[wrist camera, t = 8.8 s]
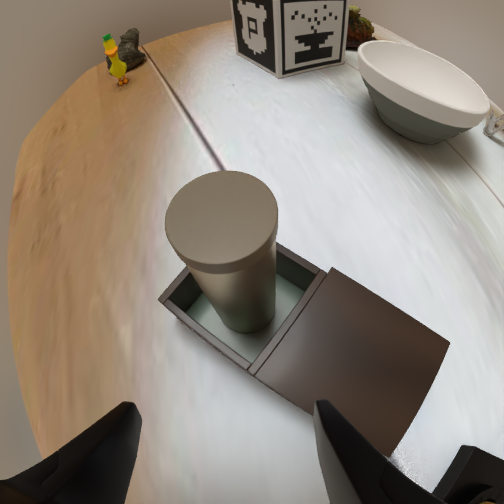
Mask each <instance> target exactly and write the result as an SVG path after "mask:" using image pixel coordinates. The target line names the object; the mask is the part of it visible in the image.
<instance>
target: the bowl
mask: <svg viewBox="0 0 504 504" xmlns="http://www.w3.org/2000/svg"><path fill="white" fill-rule="evenodd" d="M358 67H359V71H360V73H361V76H362V78H363V81H364V83H365V85H366V87H367V89H368V90H369V95H370V97H371V99H372V101H373V102H374V104H375V105H376V108H377V111H378V114H379V116H380V118H381V119H382V120H383V121H384V122H385V124H386V125H388V126H389V127H390V128H391V129H392V130H394V131H396V132H397V133H399V134H400V135H402V136H404V137H406V138H408V139H411V140H413V141H416V142H420V143H425V144H435V143H439V142H441V141H443V140H444V139H447V138H451V137H454V136H456V135H458V134H459V133H461V132H465V131H467V130H469V129H471V128H473V127H475V126H477V125H478V124H479V123H480V122H481V121H482V120H483V119H484V117H485V116H486V114H487V113H488V111H489V109H490V103H489V100H488V98H487V96H486V94H485V93H484V91H483V90H482V89H481V88H480V86H479V85H478V84H477V83H476V82H475V81H474V80H473V79H472V78H471V77H469V76H468V75H467V74H466V73H464V72H463V71H462V70H460V69H459V68H457V67H456V66H454V65H453V64H451V63H450V62H448V61H446V60H444V59H442V58H441V57H439V56H437V55H434V54H432V53H430V52H427V51H425V50H423V49H420V48H417V47H414V46H411V45H407V44H403V43H399V42H393V41H382V40H377V41H369V42H365V43H363V44H361V45H360V46H359V48H358Z"/></svg>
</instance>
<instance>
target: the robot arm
mask: <svg viewBox="0 0 504 504" xmlns="http://www.w3.org/2000/svg"><path fill="white" fill-rule="evenodd" d="M141 426H142V417H141V415H140V413H139V411H138V409H137V407H136V405H135V404H134V403H133V402H126V401H124V402H122V403H120V404H119V405H118V406H117V407H115V408H114V409H113V410H111V411H110V412H109V413H107V414H106V415H105V416H103V417H102V418H101V419H99V420H98V421H97V422H96V423H94V424H93V425H92V426H90V427H89V428H88V429H86V430H85V431H83V432H82V433H81V434H79V435H78V436H77V437H75V438H74V439H73V440H71V441H70V442H69V443H67V444H66V445H64V446H63V447H62V448H60V449H59V451H56V452H55V453H53V454H52V455H50V456H49V457H47V458H46V459H44V460H43V461H41V462H40V463H38V464H36V465H34V466H33V467H31V468H29V469H27V470H25V471H23V472H21V473H20V474H18V475H16V476H14V477H12V478H9V479H6V480H0V504H124V503H125V499H126V495H127V491H128V487H129V484H130V480H131V476H132V472H133V469H134V465H135V461H136V457H137V452H138V445H139V439H140V432H141ZM314 427H315V435H316V443H317V452H318V458H319V463H320V467H321V470H322V474H323V478H324V482H325V485H326V489H327V493H328V497H329V500H330V504H448V503H445V502H444V501H442V500H440V499H439V498H437V497H436V496H434V495H432V494H431V493H429V492H428V491H426V490H425V489H423V488H422V487H420V486H419V485H417V484H416V483H415V482H413V481H412V480H411V479H409V478H408V477H406V476H405V475H404V474H403V473H402V472H401V471H399V470H398V469H397V468H396V467H395V466H394V465H393V464H392V463H391V462H390V461H388V459H387V458H386V457H385V456H383V455H382V454H381V453H380V452H379V451H378V450H377V449H376V448H375V447H374V446H373V445H372V444H371V443H370V442H369V441H368V440H367V439H366V438H365V437H364V436H363V435H362V434H361V433H360V432H359V431H358V430H357V429H356V428H355V427H354V426H353V425H352V424H351V423H350V422H349V421H348V420H347V419H346V418H345V417H344V416H343V415H342V414H341V413H340V412H339V411H338V410H337V408H336V407H335V406H334V405H333V404H332V403H331V402H330V401H329V400H327V399H322V400H316V401H315V403H314ZM387 461H388V462H387Z"/></svg>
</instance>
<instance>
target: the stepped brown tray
mask: <svg viewBox="0 0 504 504" xmlns="http://www.w3.org/2000/svg"><path fill="white" fill-rule="evenodd" d="M158 301H159V302H160V303H162V304H163V305H164V306H165V307H166V308H167V309H168V310H169V311H170V312H172V313H173V314H174V315H175V316H176V317H177V318H178V319H180V320H181V321H182V322H183V323H184V324H186V325H187V326H188V327H189V328H190V329H192V330H193V331H194V332H195V333H197V334H198V335H199V336H200V337H202V338H203V339H204V340H205V341H207V342H208V343H209V344H210V345H212V346H213V347H214V348H216V349H217V350H218V351H219V352H221V353H222V354H223V355H225V356H226V357H227V358H229V359H230V360H231V361H233V362H234V363H235V364H237V365H238V366H239V367H241V368H242V369H244V370H245V371H246V372H248V373H249V374H250V375H252V376H253V377H255V378H256V379H258V380H259V381H260V382H262V383H263V384H265V385H266V386H267V387H269V388H270V389H272V390H273V391H275V392H276V393H278V394H279V395H281V396H282V397H284V398H285V399H287V400H288V401H290V402H291V403H293V404H294V405H296V406H298V407H299V408H301V409H302V410H304V411H305V412H307V413H309V414H310V415H312V416H313V417H314V403H315V401H316V400H322V399H327V400H329V401H330V402H331V403H332V404H333V405H334V406H335V407H336V408H337V410H338V411H339V412H340V413H341V414H342V415H343V416H344V417H345V418H346V419H347V420H348V421H349V422H350V423H351V424H352V425H353V426H354V427H355V428H356V429H357V430H358V431H359V432H360V433H361V434H362V435H363V436H364V437H365V438H366V439H367V440H368V441H369V442H370V443H371V444H372V445H373V446H374V447H375V448H376V449H377V450H378V451H379V452H380V453H381V454H382V455H384V456H386V457H388V458H389V457H390V456H391V454H392V453H393V451H394V450H395V448H396V447H397V445H398V444H399V442H400V441H401V439H402V438H403V436H404V434H405V433H406V431H407V429H408V428H409V426H410V424H411V423H412V421H413V419H414V418H415V416H416V414H417V412H418V410H419V409H420V407H421V405H422V403H423V401H424V399H425V397H426V395H427V393H428V392H429V390H430V388H431V385H432V383H433V381H434V379H435V377H436V375H437V373H438V371H439V368H440V366H441V364H442V362H443V359H444V357H445V355H446V352H447V350H448V347H449V345H450V342H449V341H448V340H446V339H445V338H443V337H442V336H440V335H439V334H437V333H435V332H434V331H432V330H431V329H429V328H428V327H426V326H425V325H423V324H422V323H420V322H419V321H417V320H416V319H414V318H413V317H411V316H409V315H408V314H406V313H405V312H403V311H402V310H400V309H399V308H397V307H395V306H394V305H392V304H391V303H389V302H388V301H386V300H384V299H383V298H381V297H380V296H378V295H376V294H375V293H373V292H372V291H370V290H369V289H367V288H365V287H364V286H362V285H361V284H359V283H357V282H356V281H354V280H352V279H351V278H349V277H348V276H346V275H344V274H343V273H341V272H339V271H338V270H336V269H335V268H333V267H331V269H330V271H329V272H328V274H327V273H326V272H325V271H323V270H322V269H321V270H320V268H318V267H317V266H315V265H313V264H312V263H310V262H308V261H307V260H305V259H304V258H302V257H300V256H299V255H297V254H295V253H294V252H292V251H290V250H289V249H287V248H285V247H284V246H282V245H280V244H279V243H277V242H276V308H275V312H274V315H273V317H272V319H271V321H270V322H269V323H268V324H267V325H266V326H265V327H264V328H262V329H260V330H258V331H256V332H252V333H239V332H236V331H234V330H231V329H230V328H228V327H227V326H226V325H225V324H224V323H223V321H222V320H221V318H220V317H219V315H218V314H217V312H216V311H215V309H214V308H213V306H212V305H211V303H210V302H209V300H208V299H207V297H206V296H205V294H204V293H203V291H202V289H201V288H200V286H199V285H198V283H197V282H196V280H195V278H194V277H193V275H192V274H191V272H190V270H189V269H188V267H187V266H186V267H185V268H184V269H183V271H182V272H181V273H180V274H179V275H178V276H177V277H176V279H175V280H174V281H173V282H172V283H171V284H170V285H169V287H168V288H167V289H166V290H165V291H164V292H163V294H162V295H161V296H160V297H159V298H158Z"/></svg>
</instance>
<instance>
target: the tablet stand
mask: <svg viewBox="0 0 504 504" xmlns="http://www.w3.org/2000/svg"><path fill="white" fill-rule="evenodd" d="M493 112H494V111H493V110H492V111H491V113H490V114H489V117H488V120H487V122H486V125H485V127H484V133H485V134H486V135H487V136H492V135H494V134H495V133H497V132H499V131H500V130H502V129H504V124H502V125H501V126H499V127H498V128H496V129H494V126H495V124H496V123H497V122H499V121H500V120H502V119H504V114H503V115H502V116H500V117H499V118H495V117H494V116H493Z"/></svg>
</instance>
